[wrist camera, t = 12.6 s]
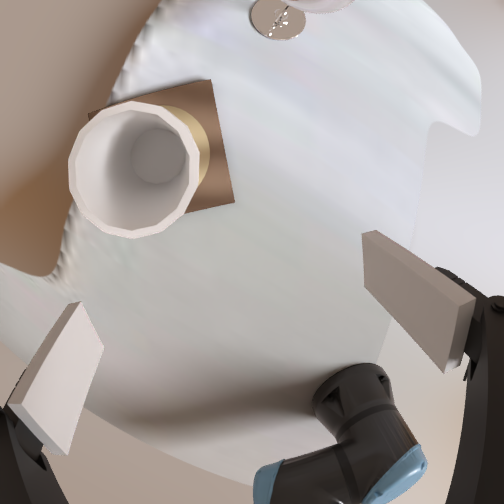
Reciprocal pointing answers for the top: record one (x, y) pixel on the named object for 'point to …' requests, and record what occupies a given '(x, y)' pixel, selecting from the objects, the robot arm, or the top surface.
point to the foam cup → (133, 169)
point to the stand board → (197, 138)
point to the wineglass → (289, 15)
